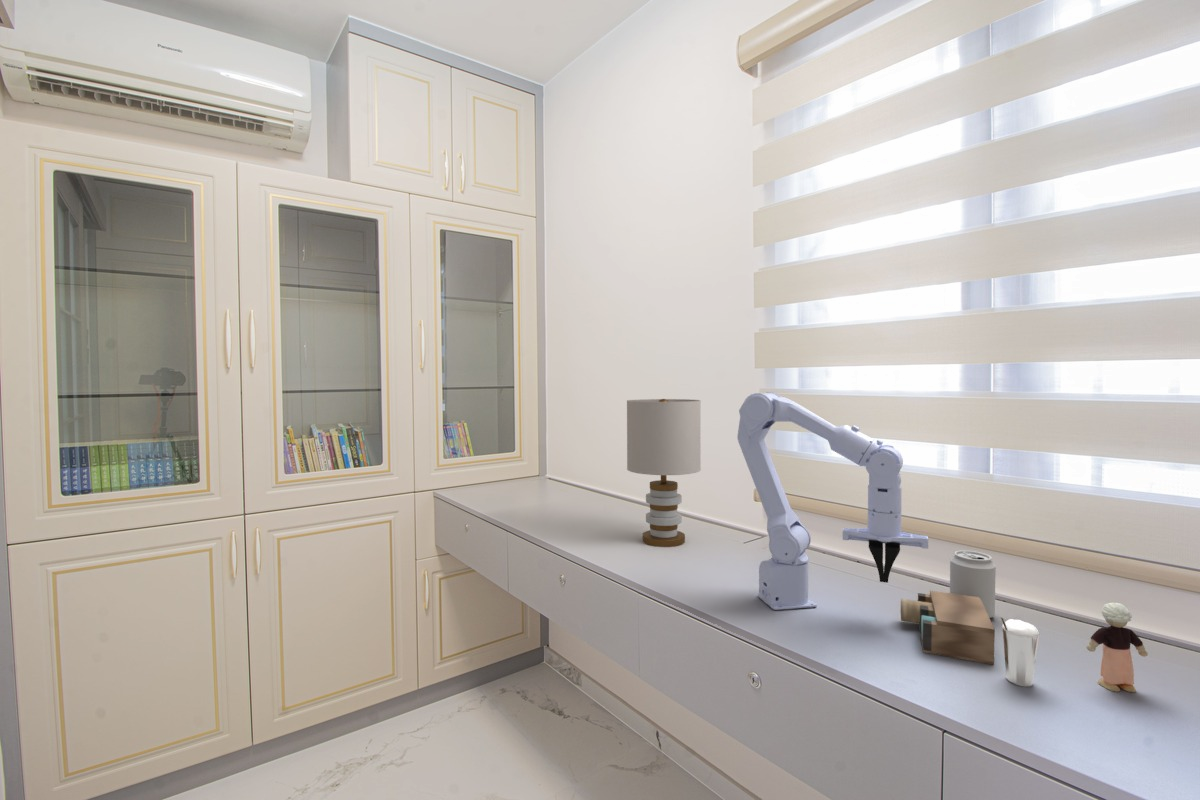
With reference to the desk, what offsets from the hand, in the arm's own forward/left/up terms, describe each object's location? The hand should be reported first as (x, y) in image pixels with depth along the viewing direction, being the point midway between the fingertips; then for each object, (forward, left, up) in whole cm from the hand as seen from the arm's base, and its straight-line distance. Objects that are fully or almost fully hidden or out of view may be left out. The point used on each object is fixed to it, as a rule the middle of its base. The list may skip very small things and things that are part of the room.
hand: (883, 580), depth 108 cm
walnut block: (+7, -9, -8) cm, 14 cm away
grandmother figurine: (+19, -27, -8) cm, 34 cm away
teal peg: (+5, -12, -7) cm, 15 cm away
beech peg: (+7, -5, -7) cm, 11 cm away
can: (+19, 0, -8) cm, 21 cm away
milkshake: (+6, -23, -8) cm, 25 cm away
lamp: (-27, +60, -8) cm, 66 cm away
